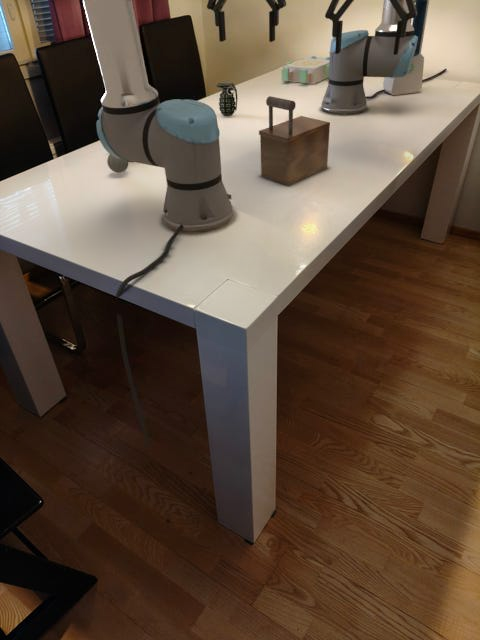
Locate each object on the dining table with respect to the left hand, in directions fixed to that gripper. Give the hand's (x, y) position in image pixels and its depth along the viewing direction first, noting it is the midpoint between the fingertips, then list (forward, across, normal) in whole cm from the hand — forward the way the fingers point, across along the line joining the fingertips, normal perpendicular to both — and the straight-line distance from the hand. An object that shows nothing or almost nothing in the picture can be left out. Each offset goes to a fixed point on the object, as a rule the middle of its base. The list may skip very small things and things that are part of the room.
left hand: (247, 41), depth 127 cm
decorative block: (+26, +2, -87) cm, 91 cm away
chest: (+27, -18, +17) cm, 37 cm away
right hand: (+2, -31, +5) cm, 32 cm away
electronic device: (+26, -37, -69) cm, 83 cm away
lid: (+17, -17, +17) cm, 30 cm away
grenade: (+27, +17, -29) cm, 43 cm away
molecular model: (+27, +27, +16) cm, 42 cm away
